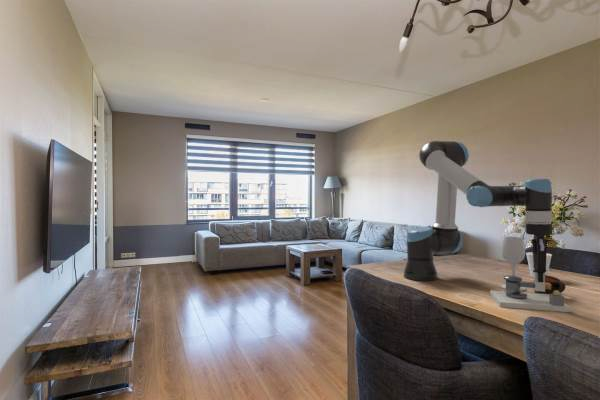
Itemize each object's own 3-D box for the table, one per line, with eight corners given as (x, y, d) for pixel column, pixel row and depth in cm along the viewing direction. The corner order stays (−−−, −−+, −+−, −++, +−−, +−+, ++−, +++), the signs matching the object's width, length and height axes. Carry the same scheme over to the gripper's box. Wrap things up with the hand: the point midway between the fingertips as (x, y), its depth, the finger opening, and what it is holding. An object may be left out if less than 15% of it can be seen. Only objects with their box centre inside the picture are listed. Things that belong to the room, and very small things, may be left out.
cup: (543, 275, 157) (543, 252, 156) (557, 280, 147) (557, 255, 147) (521, 275, 158) (521, 252, 157) (534, 280, 148) (533, 255, 148)
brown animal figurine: (525, 293, 129) (528, 274, 132) (545, 303, 131) (547, 283, 133) (555, 293, 118) (557, 272, 121) (576, 304, 119) (578, 282, 122)
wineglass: (522, 286, 138) (521, 236, 138) (529, 291, 130) (528, 238, 130) (499, 284, 141) (498, 236, 141) (504, 290, 133) (503, 238, 133)
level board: (500, 306, 113) (499, 288, 113) (490, 294, 127) (490, 278, 127) (570, 312, 107) (570, 292, 107) (551, 298, 121) (551, 281, 121)
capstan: (505, 297, 117) (505, 278, 117) (502, 292, 123) (502, 274, 123) (553, 301, 112) (552, 281, 112) (547, 296, 118) (547, 277, 118)
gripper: (556, 224, 107) (557, 297, 107) (548, 222, 118) (549, 287, 118) (528, 224, 110) (529, 294, 110) (523, 221, 122) (524, 285, 122)
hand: (539, 290), depth 114 cm, fingers closed
